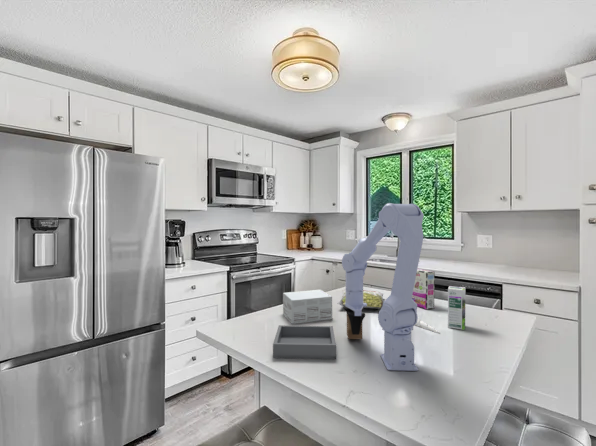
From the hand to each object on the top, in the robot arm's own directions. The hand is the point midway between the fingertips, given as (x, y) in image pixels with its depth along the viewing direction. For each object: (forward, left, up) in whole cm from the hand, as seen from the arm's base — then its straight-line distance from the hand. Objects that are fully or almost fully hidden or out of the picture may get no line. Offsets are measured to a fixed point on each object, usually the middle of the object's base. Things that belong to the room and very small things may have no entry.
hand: (354, 331), depth 108 cm
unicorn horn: (+18, -24, -3) cm, 30 cm away
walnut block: (0, 0, -2) cm, 2 cm away
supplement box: (+24, +16, -3) cm, 29 cm away
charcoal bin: (-7, +16, -3) cm, 18 cm away
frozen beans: (+43, -9, -3) cm, 44 cm away
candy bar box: (+41, -35, -3) cm, 54 cm away
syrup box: (+14, -39, -3) cm, 42 cm away
